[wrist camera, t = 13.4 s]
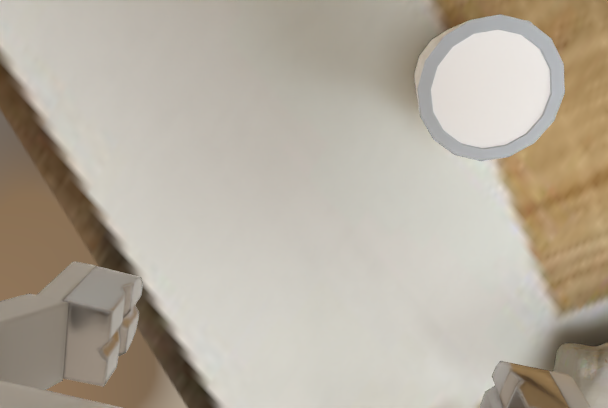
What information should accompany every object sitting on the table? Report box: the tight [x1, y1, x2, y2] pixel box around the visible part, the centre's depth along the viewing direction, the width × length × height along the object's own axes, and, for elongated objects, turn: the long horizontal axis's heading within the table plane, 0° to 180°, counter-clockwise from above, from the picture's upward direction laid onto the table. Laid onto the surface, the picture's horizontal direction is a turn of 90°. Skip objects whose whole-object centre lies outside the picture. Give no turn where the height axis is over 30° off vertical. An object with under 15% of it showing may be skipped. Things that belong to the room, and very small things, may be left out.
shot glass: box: [414, 15, 565, 161], centre depth 29 cm, size 7×7×7 cm
